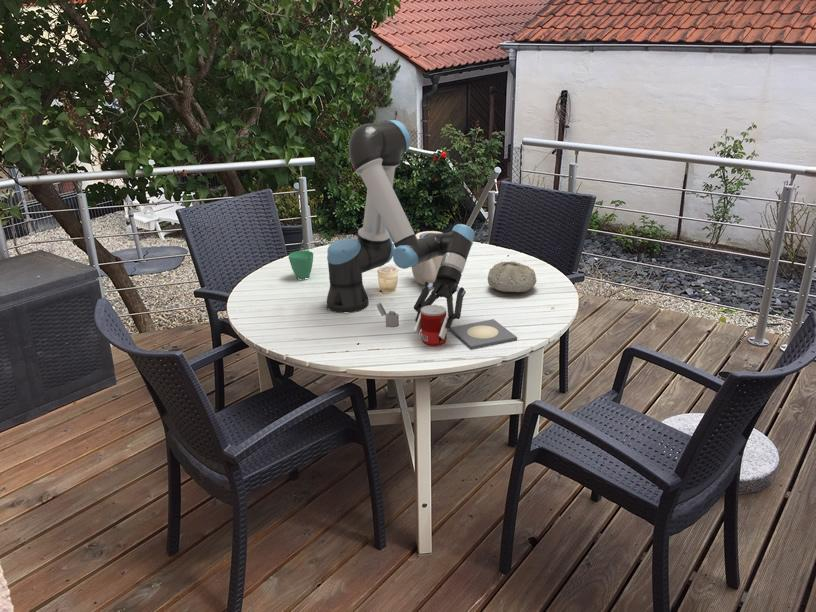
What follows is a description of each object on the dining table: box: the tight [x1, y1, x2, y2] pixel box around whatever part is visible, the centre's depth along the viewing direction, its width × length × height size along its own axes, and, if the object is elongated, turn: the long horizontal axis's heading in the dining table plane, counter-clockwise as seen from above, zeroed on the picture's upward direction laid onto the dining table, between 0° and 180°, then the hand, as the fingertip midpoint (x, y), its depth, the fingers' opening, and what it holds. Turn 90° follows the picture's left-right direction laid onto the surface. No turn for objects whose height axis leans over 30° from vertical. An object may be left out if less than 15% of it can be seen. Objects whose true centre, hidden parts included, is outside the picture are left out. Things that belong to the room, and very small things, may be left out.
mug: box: [288, 248, 314, 279], centre depth 277 cm, size 15×10×10 cm
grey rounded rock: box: [487, 260, 537, 293], centre depth 254 cm, size 18×18×10 cm
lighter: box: [375, 302, 400, 328], centre depth 227 cm, size 7×2×8 cm, turn 77°
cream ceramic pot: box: [411, 230, 443, 286], centre depth 263 cm, size 16×27×19 cm, turn 169°
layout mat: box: [449, 318, 518, 350], centre depth 218 cm, size 16×16×1 cm
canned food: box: [420, 304, 448, 347], centre depth 213 cm, size 8×8×11 cm
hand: (428, 335), depth 211 cm, fingers closed on canned food, 8 cm apart
